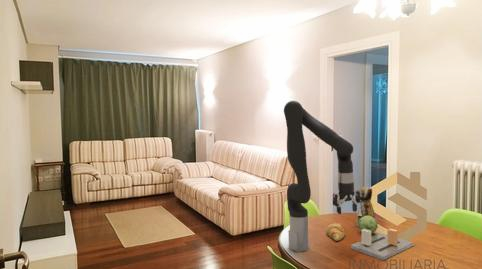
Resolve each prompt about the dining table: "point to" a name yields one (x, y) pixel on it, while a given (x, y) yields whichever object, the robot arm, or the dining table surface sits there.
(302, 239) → the robot arm
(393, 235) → the orange fader
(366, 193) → the plush toy
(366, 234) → the cream fader
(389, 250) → the fader panel
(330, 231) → the croissant
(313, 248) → the dining table surface
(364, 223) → the decorative ball
